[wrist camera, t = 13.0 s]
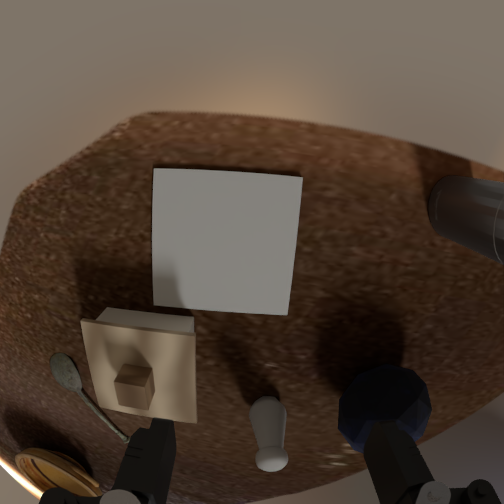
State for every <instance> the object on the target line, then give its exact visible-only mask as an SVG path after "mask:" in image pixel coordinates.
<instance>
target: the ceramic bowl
mask: <svg viewBox="0 0 504 504" xmlns="http://www.w3.org/2000/svg"><path fill="white" fill-rule="evenodd" d="M15 461H16V464H17V466H18V468H19V470H20V471H21V472H22V474H23V475H24V476H25V477H26V478H27V479H28V480H29V481H30V482H31V483H32V484H33V485H34V486H35V487H37V488H38V489H39V490H41V491H42V492H43V493H44V492H45V491H46V490H48V489H50V488H54V487H60V488H64V489H67V490H69V491H70V492H71V493H72V494H73V495H74V496H85V497H97V496H101V495H102V491H101V489H100V488H99V483H98V482H97V481H96V480H95V479H93V478H92V477H91V476H90V475H89V474H88V473H87V472H86V471H85V469H84V468H83V467H82V466H81V465H80V464H79V463H78V462H77V461H75V460H74V459H72V458H71V457H69V456H67V455H65V454H63V453H60V452H56V451H50V450H47V449H44V448H38V447H33V448H27V449H25V450H23V451H22V452H20V453H19V454H17V455H16V457H15Z"/></svg>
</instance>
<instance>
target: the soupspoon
mask: <svg viewBox="0 0 504 504" xmlns="http://www.w3.org/2000/svg"><path fill="white" fill-rule="evenodd" d="M50 367H51V371H52V374H53V376H54V378H55V379H56V380H57V382H58V383H59V384H60V385H61V386H62V387H64V388H66V389H68V390H70V391H74V392H77V393H78V394H79V395H80V396H81V398H82V399H83V400H84V401H85V402H86V404H87V405H88V406H89V407H90V408H91V409H92V410H93V411H94V412H95V413H96V414H97V415H98V416H99V417H100V418H101V419H102V420H103V421H104V422H105V423H106V424H107V425H108V426H109V427H110V428H111V429H113V430H114V431H115V432H116V434H117V435H119V436H120V437H121V438H122V440H123V442H124V443H128V442H129V441H130V437H127V436H125V435H123V434H122V433H120V431H118V430H117V429H115V428H114V427H113V426H112V425H111V424H110V423H109V422H108V421H107V420H106V419H105V418H104V417H103V415H102V414H101V413H100V412H99V411H98V410H97V409H96V408H95V407H94V406H93V405H92V404H91V403H90V401H89V400H88V399H87V398H86V396H85V395H84V394H83V393H82V391H81V388H82V383H81V379H80V376H79V374H78V371H77V369H76V368H75V366H74V364H73V362H72V361H71V359H70V358H69V357H68V356H67V355H66V354H63V353H57V354H54V355H53V356H52V357H51V359H50Z"/></svg>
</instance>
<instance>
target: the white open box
mask: <svg viewBox="0 0 504 504" xmlns="http://www.w3.org/2000/svg"><path fill="white" fill-rule="evenodd" d="M96 320H98V321H104V322H110V323H117V324H124V325H131V326H139V327H147V328H155V329H163V330H172V331H182V332H192V333H194V317H190V316H179V315H169V314H160V313H150V312H142V311H133V310H125V309H117V308H110V307H107V308H106V309H105V310H104V311H103V312H102V313H101V315H100V316H99V317H98V318H97V319H96Z"/></svg>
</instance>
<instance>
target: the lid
mask: <svg viewBox="0 0 504 504" xmlns="http://www.w3.org/2000/svg"><path fill="white" fill-rule="evenodd" d="M81 327H82V333H83V338H84V344H85V349H86V354H87V359H88V363H89V368H90V372H91V376H92V380H93V384H94V388H95V392H96V396H97V400H98V403H99V407H103V408H107V409H111V410H116V411H121V412H126V413H131V414H136V415H142V416H147V417H153V418H154V417H157V418H163V419H170V420H173V421H181V422H189V423H197V394H196V333H192V332H182V331H172V330H163V329H155V328H147V327H139V326H131V325H124V324H117V323H110V322H104V321H98V320H91V319H85V318H83V319H82V320H81Z"/></svg>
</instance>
